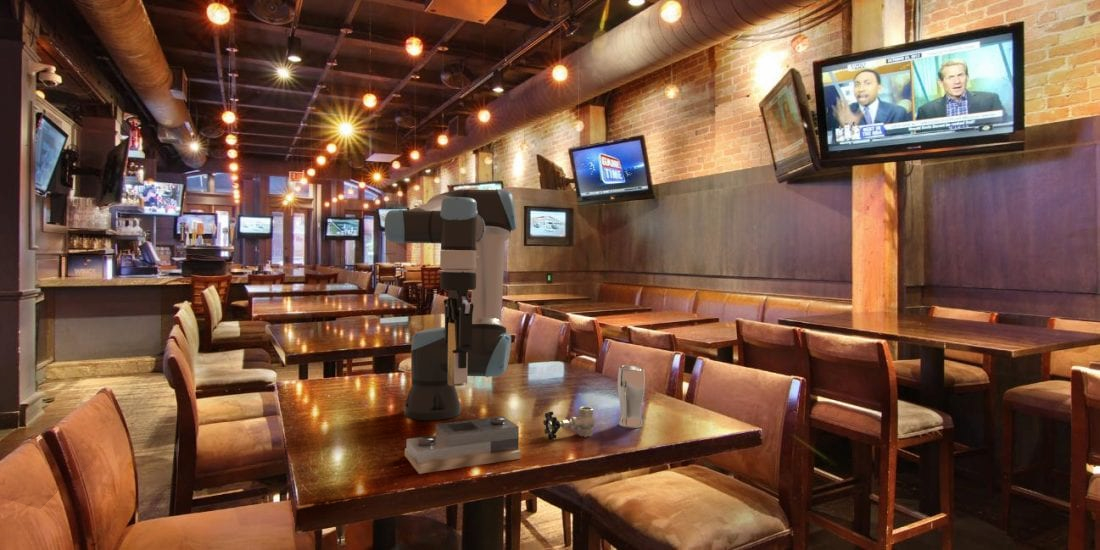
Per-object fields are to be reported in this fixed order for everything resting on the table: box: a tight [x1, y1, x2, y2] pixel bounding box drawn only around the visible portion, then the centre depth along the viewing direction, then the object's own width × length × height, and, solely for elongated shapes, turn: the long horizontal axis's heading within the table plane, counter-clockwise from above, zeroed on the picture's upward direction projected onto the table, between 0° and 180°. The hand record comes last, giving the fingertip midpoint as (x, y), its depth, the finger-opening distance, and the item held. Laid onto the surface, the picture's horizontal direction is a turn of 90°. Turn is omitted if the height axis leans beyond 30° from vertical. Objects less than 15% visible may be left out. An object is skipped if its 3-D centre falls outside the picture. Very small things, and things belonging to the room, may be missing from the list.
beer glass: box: [617, 364, 646, 429], centre depth 154 cm, size 7×7×15 cm
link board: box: [404, 448, 522, 475], centre depth 127 cm, size 22×12×2 cm, turn 117°
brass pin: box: [448, 322, 468, 387], centre depth 126 cm, size 4×4×13 cm
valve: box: [542, 406, 595, 440], centre depth 144 cm, size 7×7×12 cm
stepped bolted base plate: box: [405, 415, 520, 464], centre depth 127 cm, size 22×9×6 cm, turn 117°
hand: (457, 380), depth 126 cm, fingers closed on brass pin, 4 cm apart
